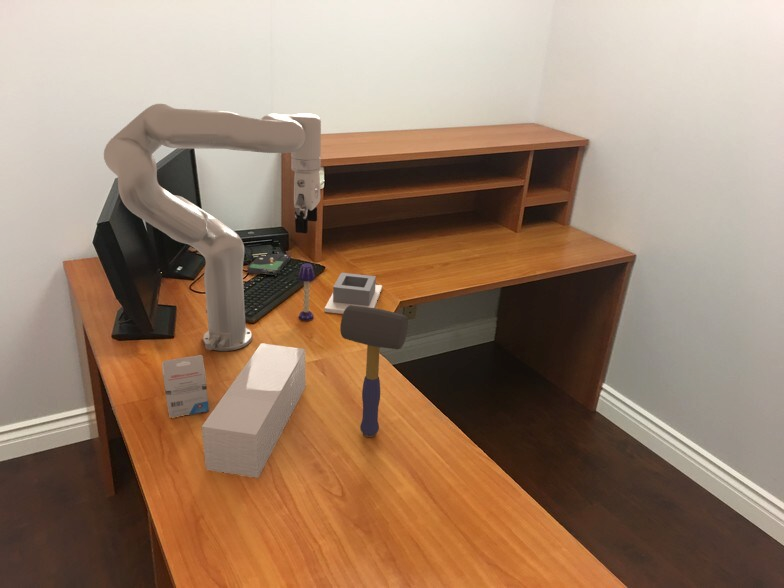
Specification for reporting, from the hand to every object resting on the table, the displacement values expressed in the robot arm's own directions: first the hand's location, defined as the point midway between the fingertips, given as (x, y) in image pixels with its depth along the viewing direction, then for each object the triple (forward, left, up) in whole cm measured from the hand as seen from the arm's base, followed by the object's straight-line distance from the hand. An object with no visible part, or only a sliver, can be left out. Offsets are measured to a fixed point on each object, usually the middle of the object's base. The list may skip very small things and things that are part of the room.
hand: (306, 226), depth 168 cm
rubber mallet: (-48, -27, -28) cm, 62 cm away
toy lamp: (0, 0, -28) cm, 28 cm away
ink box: (-48, +14, -28) cm, 57 cm away
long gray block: (-50, -3, -28) cm, 57 cm away
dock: (+15, -11, -28) cm, 33 cm away
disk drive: (+33, +22, -29) cm, 49 cm away
